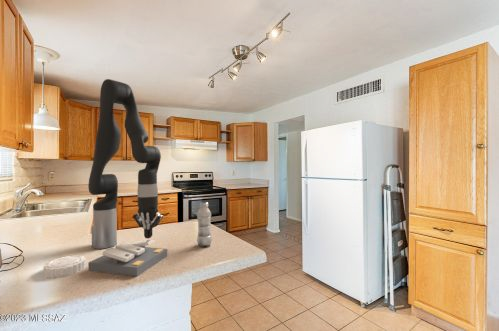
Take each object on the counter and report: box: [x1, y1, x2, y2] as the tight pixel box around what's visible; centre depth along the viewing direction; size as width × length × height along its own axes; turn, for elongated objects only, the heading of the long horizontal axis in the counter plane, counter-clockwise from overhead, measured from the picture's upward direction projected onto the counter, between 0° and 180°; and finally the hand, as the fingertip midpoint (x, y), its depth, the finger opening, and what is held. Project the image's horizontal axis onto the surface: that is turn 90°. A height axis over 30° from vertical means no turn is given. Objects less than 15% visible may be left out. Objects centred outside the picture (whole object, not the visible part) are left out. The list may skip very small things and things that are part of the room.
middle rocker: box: [114, 242, 145, 255], centre depth 91 cm, size 10×4×1 cm, turn 77°
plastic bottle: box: [196, 201, 213, 247], centre depth 110 cm, size 6×7×20 cm
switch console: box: [87, 246, 168, 277], centre depth 91 cm, size 20×18×4 cm
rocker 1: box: [102, 247, 135, 262], centre depth 86 cm, size 10×4×1 cm, turn 77°
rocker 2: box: [129, 238, 156, 247], centre depth 97 cm, size 10×4×1 cm, turn 77°
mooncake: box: [43, 255, 87, 279], centre depth 86 cm, size 12×12×4 cm
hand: (148, 237), depth 96 cm, fingers closed
